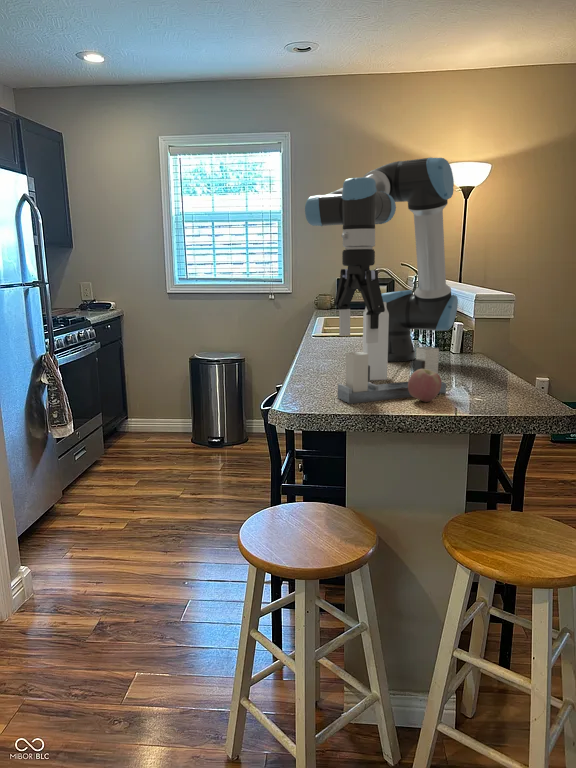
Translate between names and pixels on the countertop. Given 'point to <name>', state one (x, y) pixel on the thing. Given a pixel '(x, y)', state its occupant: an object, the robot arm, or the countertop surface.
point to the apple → (424, 384)
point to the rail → (424, 360)
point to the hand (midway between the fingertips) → (357, 339)
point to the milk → (377, 347)
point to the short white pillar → (357, 371)
